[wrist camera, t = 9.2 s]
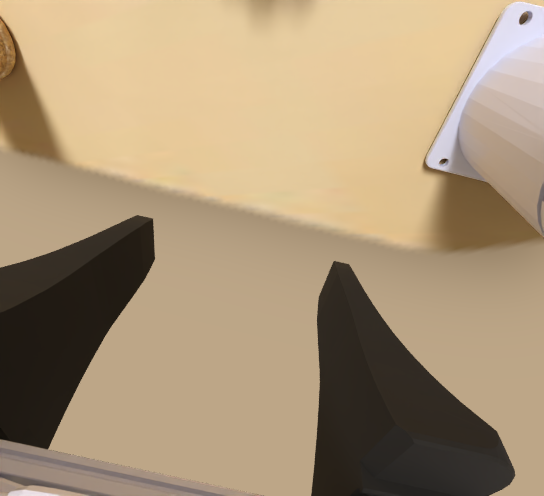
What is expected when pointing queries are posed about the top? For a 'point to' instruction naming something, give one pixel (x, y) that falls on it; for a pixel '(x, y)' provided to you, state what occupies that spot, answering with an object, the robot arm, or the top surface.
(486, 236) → the top surface
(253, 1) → the top surface
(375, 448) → the robot arm
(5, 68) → the sprinkles bottle
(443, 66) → the top surface
